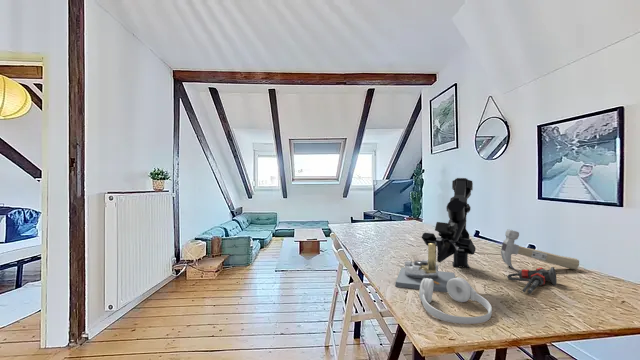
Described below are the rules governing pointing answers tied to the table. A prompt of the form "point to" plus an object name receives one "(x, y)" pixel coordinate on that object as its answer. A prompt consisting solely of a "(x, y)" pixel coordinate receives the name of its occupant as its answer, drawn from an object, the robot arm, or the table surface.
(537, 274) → the valve
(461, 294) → the headphones
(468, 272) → the table surface
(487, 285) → the table surface
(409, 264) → the brass lever assembly
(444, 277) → the housing plate
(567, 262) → the hammer
